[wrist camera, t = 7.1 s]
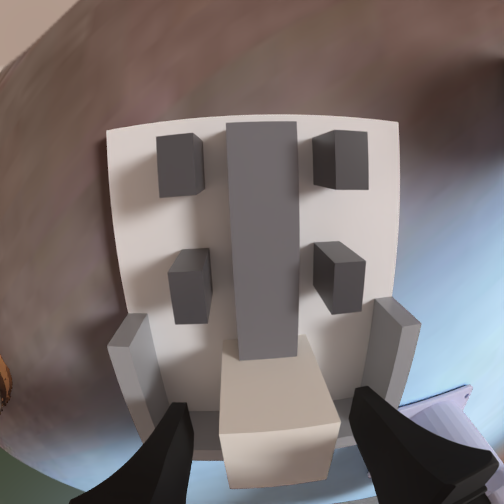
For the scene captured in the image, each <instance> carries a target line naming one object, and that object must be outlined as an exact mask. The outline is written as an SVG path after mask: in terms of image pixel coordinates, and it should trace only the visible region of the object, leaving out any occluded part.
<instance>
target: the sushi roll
mask: <svg viewBox="0 0 504 504" xmlns="http://www.w3.org/2000/svg"><path fill="white" fill-rule="evenodd" d="M9 370H10V369H9V368H8V367H7V366H6V365H5V363H4V361H3V360H2V357H1V355H0V415H1V411H3V410H2V407H1V406H3V405H4V406H6V403H8V400H10V396H9V395H10V392H11V389H12V377H11V375H10V372H9Z"/></svg>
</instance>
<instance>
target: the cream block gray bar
mask: <svg viewBox="0 0 504 504" xmlns="http://www.w3.org/2000/svg"><path fill="white" fill-rule="evenodd" d="M226 142H227V165H228V186H229V206H230V225H231V243H232V260H233V276H234V292H235V307H236V321H237V335H238V339H232V340H223V351H222V371H221V393H220V417H219V437H220V443H221V448H222V453H223V458H224V463H225V468H226V473H227V478H228V482H229V487H230V489H247V488H263V487H275V486H284V485H293V484H300V483H307V482H313V481H319V480H325V479H327V475H328V472H329V468H330V465H331V461H332V457H333V453H334V449H335V445H336V441H337V437H338V433H339V428H340V424H341V421H340V418H339V416H338V413H337V410H336V408H335V405H334V403H333V400H332V398H331V395H330V393H329V390H328V388H327V385H326V383H325V380H324V378H323V376H322V373H321V371H320V368H319V366H318V363H317V361H316V358H315V356H314V353H313V351H312V348H311V346H310V344H309V341H308V339H307V336H306V334H302V335H298V321H299V268H300V222H299V169H298V140H297V121H259V122H231V123H226Z"/></svg>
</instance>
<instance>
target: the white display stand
mask: <svg viewBox="0 0 504 504" xmlns="http://www.w3.org/2000/svg"><path fill="white" fill-rule="evenodd" d="M335 504H379V503H378V499H377V496H375V497H370V498H365V499H360V500H354V501H348V502H342V503H335Z"/></svg>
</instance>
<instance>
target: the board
mask: <svg viewBox="0 0 504 504" xmlns="http://www.w3.org/2000/svg"><path fill="white" fill-rule="evenodd" d="M259 121H297V140H298V169H299V222H300V268H299V321H298V335H302V334H306V336H307V339H308V341H309V344H310V346H311V348H312V351H313V353H314V356H315V358H316V361H317V363H318V366H319V368H320V371H321V373H322V376H323V378H324V380H325V383H326V385H327V388H328V390H329V393H330V395H331V398H332V400H333V403H334V405H335V408H336V410H337V413H338V416H339V418H340V421H341V424H340V428H339V433H338V437H337V441H336V445H335V449H338V448H343V447H348V446H353V445H357V444H356V442H355V439H354V437H353V433H352V430H351V427H350V423H349V419H348V418H349V414H350V410H351V405H352V401H353V396H354V391H355V388H358V387H363V386H369V387H370V388H371V389H372V390H374V391H375V392H376V393H377V394H378V395H379V396H381V397H382V398H383V399H384V400H385V401H387V402H388V403H389V404H390V405H391V406H393V407H394V408H395V409H397V410H398V407H399V404H400V401H401V398H402V395H403V392H404V388H405V385H406V382H407V379H408V375H409V372H410V368H411V364H412V361H413V357H414V353H415V349H416V345H417V341H418V337H419V332H420V328H421V323H420V322H419V321H418V320H417V319H416V318H415V317H414V316H413V315H412V314H411V313H410V312H408V311H407V310H406V309H405V308H404V307H403V306H402V305H401V304H400V303H399V302H397V301H396V300H395V299H394V298H393V297H392V291H393V283H394V274H395V265H396V254H397V241H398V226H399V203H400V149H399V127H398V122H393V121H385V120H376V119H365V118H354V117H340V116H322V115H237V116H218V117H205V118H193V119H183V120H173V121H165V122H157V123H150V124H143V125H136V126H130V127H124V128H118V129H112V130H107V157H108V174H109V188H110V199H111V209H112V218H113V227H114V234H115V242H116V249H117V255H118V262H119V268H120V274H121V279H122V285H123V290H124V295H125V300H126V305H127V310H128V314H127V316H126V317H125V319H124V320H123V322H122V323H121V325H120V327H119V328H118V330H117V331H116V333H115V334H114V336H113V337H112V339H111V340H110V342H109V344H108V345H107V349H108V352H109V355H110V358H111V361H112V365H113V368H114V371H115V374H116V377H117V380H118V382H119V385H120V388H121V391H122V394H123V396H124V399H125V402H126V404H127V407H128V409H129V412H130V414H131V417H132V419H133V422H134V424H135V426H136V429H137V431H138V433H139V436H140V438H141V440H142V442H143V444H144V443H145V441H146V440H147V439H148V438H149V436H150V435H151V434H152V432H153V431H154V429H155V428H156V427H157V425H158V424H159V422H160V421H161V419H162V418H163V416H164V414H165V413H166V411H167V409H168V408H169V406H170V404H171V403H172V402H187V406H188V410H189V414H190V418H191V422H192V426H193V430H194V451H193V458H192V460H197V461H224V458H223V453H222V448H221V443H220V437H219V417H220V393H221V371H222V351H223V340H232V339H238V335H237V321H236V307H235V292H234V276H233V260H232V243H231V225H230V206H229V186H228V165H227V142H226V123H231V122H259Z"/></svg>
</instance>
